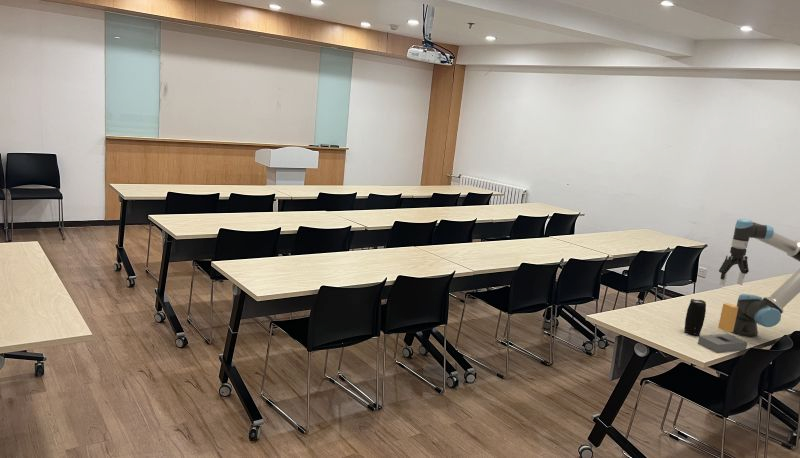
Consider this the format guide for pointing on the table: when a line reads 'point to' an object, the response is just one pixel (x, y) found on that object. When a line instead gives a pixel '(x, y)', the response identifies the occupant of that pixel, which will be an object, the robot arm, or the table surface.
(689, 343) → the table surface
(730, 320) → the plug
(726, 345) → the grey slotted base
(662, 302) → the table surface
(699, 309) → the portable speaker
